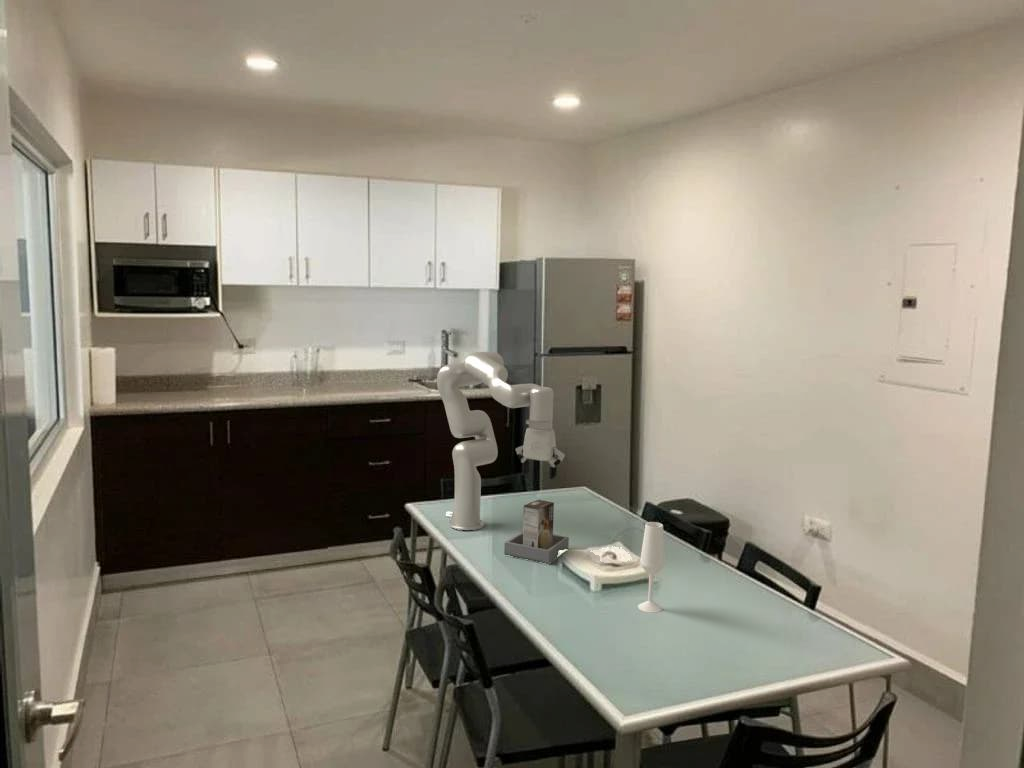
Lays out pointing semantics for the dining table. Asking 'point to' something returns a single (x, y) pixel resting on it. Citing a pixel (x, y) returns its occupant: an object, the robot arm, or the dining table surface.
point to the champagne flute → (652, 560)
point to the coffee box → (538, 524)
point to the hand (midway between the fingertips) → (539, 476)
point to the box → (535, 549)
